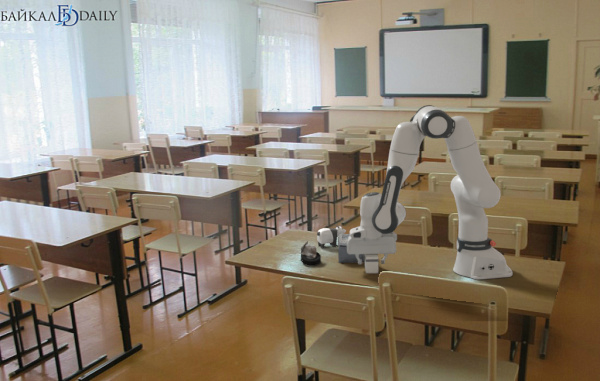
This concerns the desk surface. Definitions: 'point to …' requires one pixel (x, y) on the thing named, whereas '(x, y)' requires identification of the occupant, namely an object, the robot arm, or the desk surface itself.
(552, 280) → the desk surface
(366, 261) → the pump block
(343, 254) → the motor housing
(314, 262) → the black based translucent ornament
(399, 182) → the robot arm
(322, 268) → the desk surface
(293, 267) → the desk surface
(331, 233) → the giant panda
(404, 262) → the desk surface
